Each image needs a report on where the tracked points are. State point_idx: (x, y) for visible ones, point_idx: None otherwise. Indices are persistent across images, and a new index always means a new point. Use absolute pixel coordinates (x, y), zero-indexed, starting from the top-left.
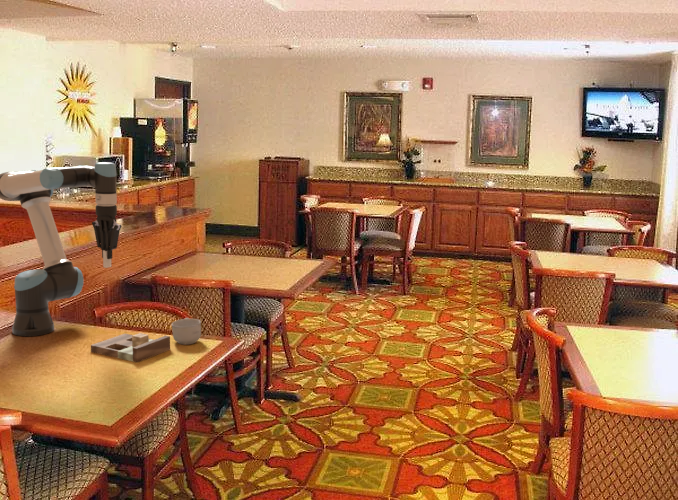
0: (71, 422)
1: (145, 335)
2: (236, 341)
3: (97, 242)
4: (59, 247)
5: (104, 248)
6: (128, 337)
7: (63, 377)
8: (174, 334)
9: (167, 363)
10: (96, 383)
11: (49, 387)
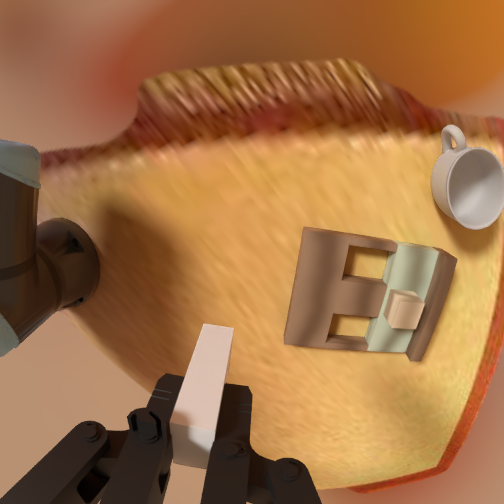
0: (399, 479)
1: (420, 310)
2: None
3: (81, 490)
4: None
5: (168, 464)
6: (336, 258)
7: (322, 433)
8: (450, 217)
9: (459, 321)
10: (382, 428)
11: (326, 456)
